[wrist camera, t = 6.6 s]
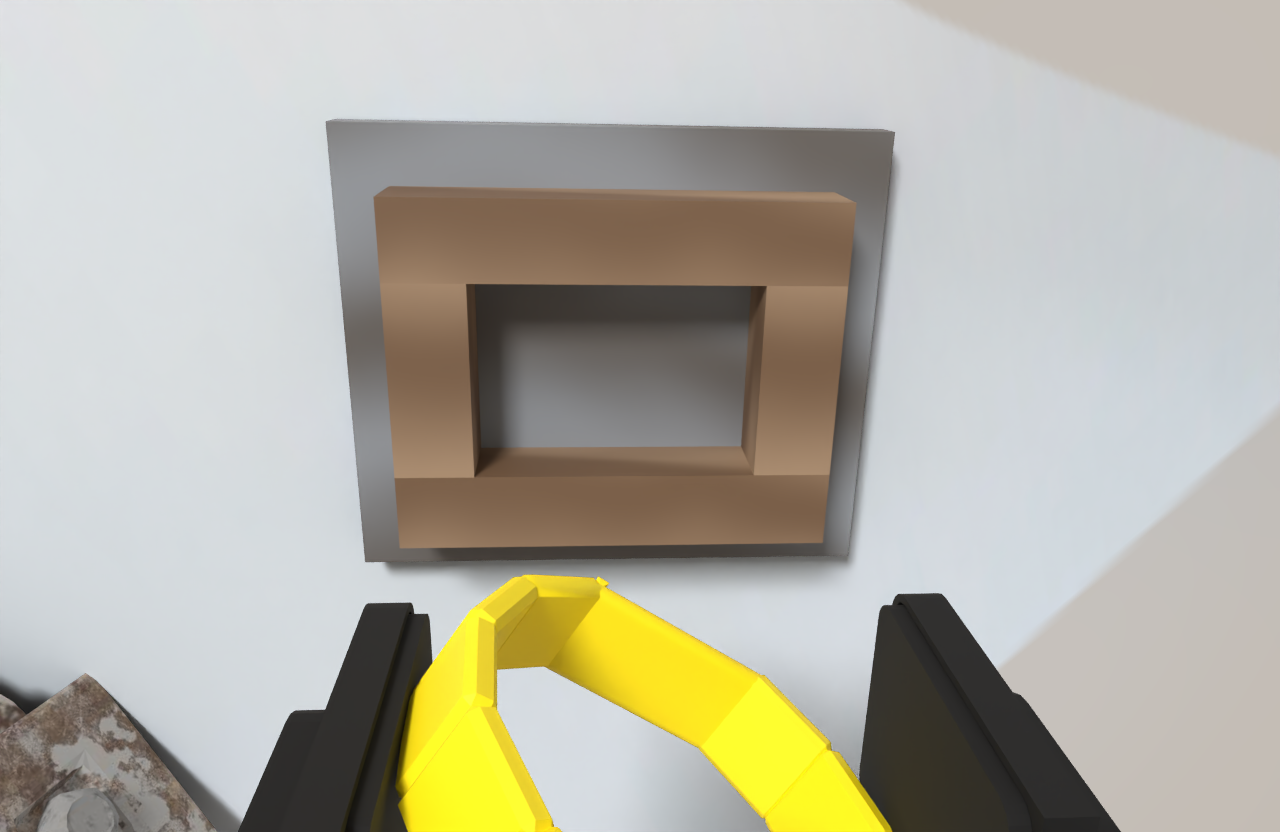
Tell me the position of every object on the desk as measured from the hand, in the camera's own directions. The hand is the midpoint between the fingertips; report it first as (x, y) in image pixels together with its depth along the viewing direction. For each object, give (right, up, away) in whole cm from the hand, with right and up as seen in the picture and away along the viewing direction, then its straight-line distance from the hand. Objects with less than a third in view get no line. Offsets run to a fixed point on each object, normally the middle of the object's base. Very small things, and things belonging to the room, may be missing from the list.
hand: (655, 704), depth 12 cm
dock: (-1, +5, +14) cm, 15 cm away
